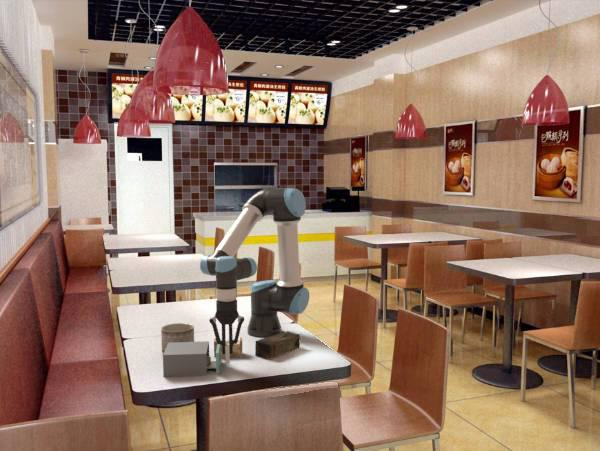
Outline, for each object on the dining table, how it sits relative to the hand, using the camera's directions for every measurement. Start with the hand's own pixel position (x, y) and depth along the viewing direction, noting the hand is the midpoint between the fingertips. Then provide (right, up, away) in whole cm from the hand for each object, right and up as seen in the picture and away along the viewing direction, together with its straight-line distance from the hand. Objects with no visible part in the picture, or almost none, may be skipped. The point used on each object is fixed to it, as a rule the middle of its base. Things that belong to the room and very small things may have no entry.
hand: (227, 362), depth 208 cm
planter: (-22, -1, +17) cm, 28 cm away
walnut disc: (-10, -1, -1) cm, 10 cm away
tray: (-10, -2, -1) cm, 10 cm away
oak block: (-2, -1, +14) cm, 14 cm away
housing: (-15, -2, -1) cm, 15 cm away
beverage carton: (+18, -1, +18) cm, 25 cm away
